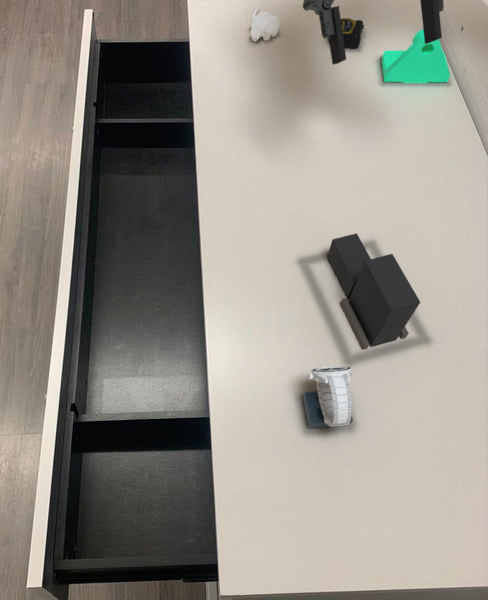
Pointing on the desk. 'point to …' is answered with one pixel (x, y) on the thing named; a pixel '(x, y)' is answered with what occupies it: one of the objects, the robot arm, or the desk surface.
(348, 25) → the tape measure
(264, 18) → the elephant figurine
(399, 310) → the block
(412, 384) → the desk surface
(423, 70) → the camera mount
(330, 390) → the watch
